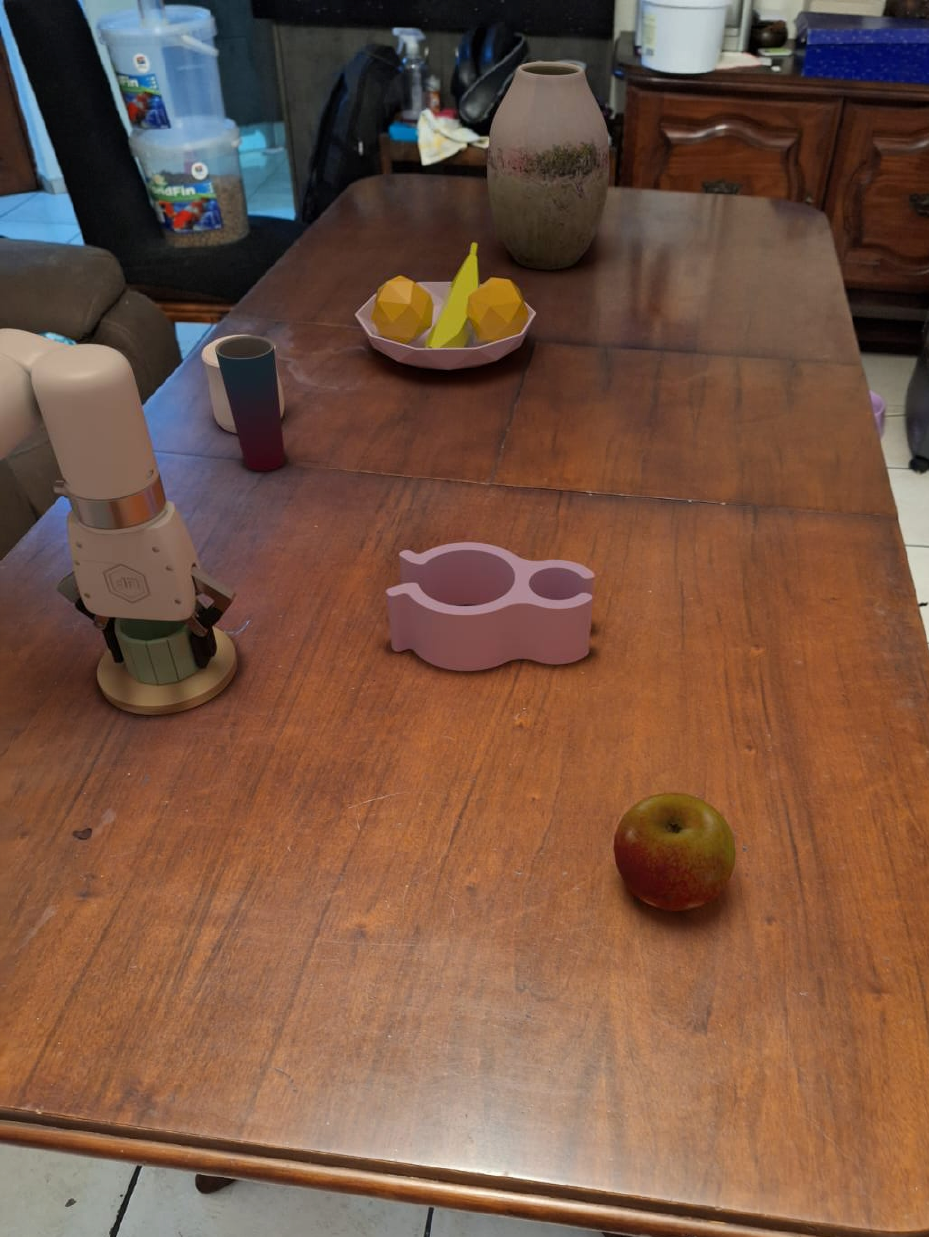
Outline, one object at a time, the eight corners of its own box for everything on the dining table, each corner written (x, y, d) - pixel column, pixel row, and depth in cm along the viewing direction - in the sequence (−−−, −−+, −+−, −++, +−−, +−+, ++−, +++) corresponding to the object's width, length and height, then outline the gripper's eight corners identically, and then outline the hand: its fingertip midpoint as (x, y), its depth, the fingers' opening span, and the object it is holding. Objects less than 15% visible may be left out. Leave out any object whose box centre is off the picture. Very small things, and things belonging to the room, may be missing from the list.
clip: (593, 605, 110) (596, 551, 105) (585, 680, 101) (589, 624, 96) (409, 592, 111) (404, 537, 106) (385, 665, 102) (379, 609, 97)
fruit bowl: (472, 405, 144) (470, 325, 136) (324, 359, 154) (314, 282, 146) (573, 338, 161) (576, 264, 154) (434, 301, 171) (430, 230, 164)
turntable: (123, 733, 94) (120, 723, 93) (83, 657, 101) (80, 647, 101) (258, 684, 99) (255, 674, 98) (209, 615, 107) (207, 606, 106)
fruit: (589, 893, 81) (594, 827, 76) (641, 821, 87) (650, 755, 82) (698, 948, 78) (712, 882, 72) (745, 869, 84) (761, 803, 78)
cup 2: (267, 480, 127) (246, 363, 117) (226, 465, 130) (202, 350, 120) (303, 457, 132) (285, 343, 122) (262, 443, 134) (242, 330, 124)
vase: (620, 250, 192) (634, 63, 171) (577, 287, 178) (585, 88, 157) (518, 232, 198) (519, 50, 178) (468, 267, 184) (462, 73, 163)
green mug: (184, 689, 96) (172, 648, 93) (113, 678, 97) (99, 636, 94) (229, 626, 104) (219, 586, 100) (163, 616, 105) (152, 576, 101)
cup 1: (281, 398, 144) (270, 330, 137) (291, 431, 137) (280, 360, 130) (212, 406, 142) (197, 337, 135) (218, 440, 135) (203, 368, 128)
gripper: (-2, 513, 85) (62, 675, 97) (204, 526, 84) (242, 688, 96) (38, 469, 90) (93, 627, 102) (231, 480, 89) (264, 639, 101)
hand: (165, 656), depth 99 cm, fingers closed on green mug, 7 cm apart
